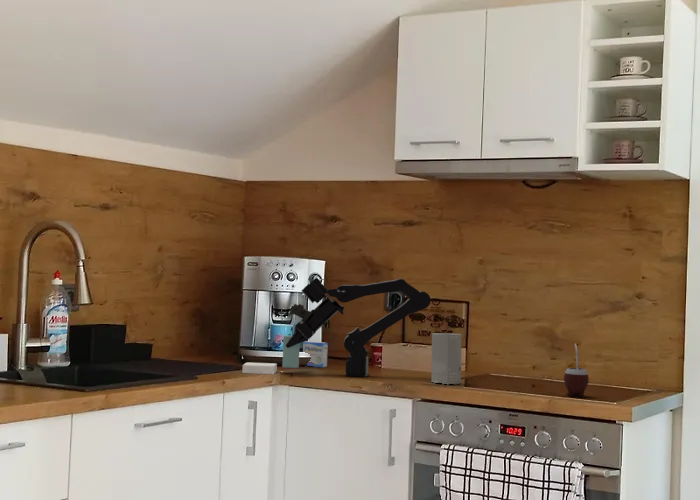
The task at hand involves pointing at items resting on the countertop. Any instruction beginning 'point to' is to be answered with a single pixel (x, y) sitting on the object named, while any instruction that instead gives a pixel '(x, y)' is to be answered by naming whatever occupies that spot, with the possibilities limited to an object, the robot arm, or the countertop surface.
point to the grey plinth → (259, 368)
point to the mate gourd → (576, 380)
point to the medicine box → (316, 353)
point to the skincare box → (446, 358)
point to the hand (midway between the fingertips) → (287, 346)
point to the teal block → (290, 354)
